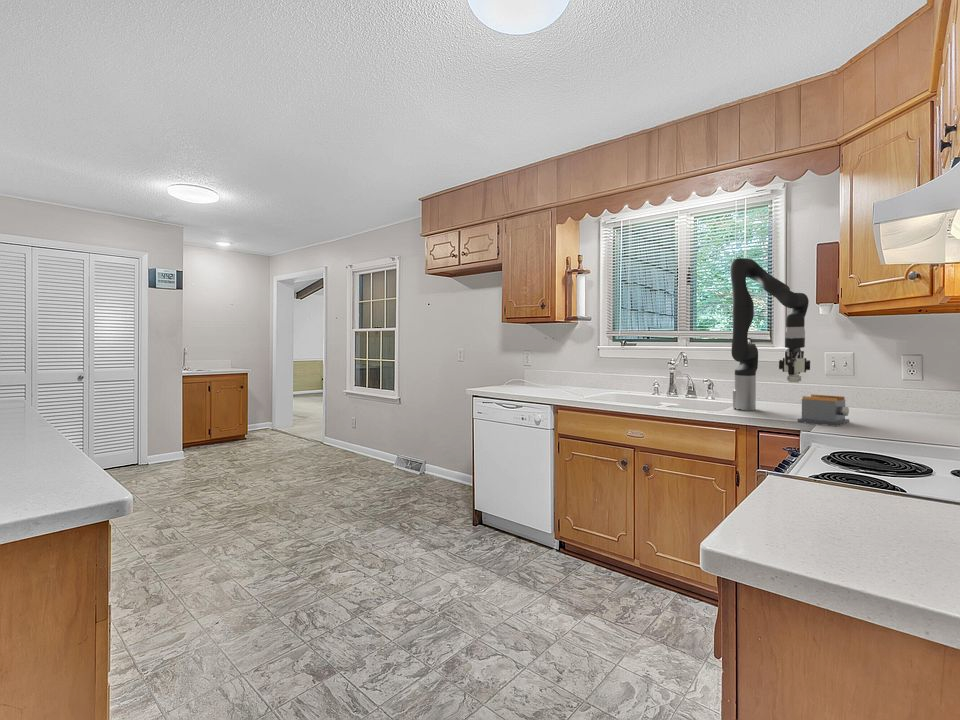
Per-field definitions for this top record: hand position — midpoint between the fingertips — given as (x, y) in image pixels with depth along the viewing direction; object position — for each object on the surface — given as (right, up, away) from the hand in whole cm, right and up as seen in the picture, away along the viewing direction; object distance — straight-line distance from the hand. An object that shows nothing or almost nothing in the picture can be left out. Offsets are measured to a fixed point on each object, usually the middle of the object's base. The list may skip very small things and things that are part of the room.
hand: (794, 374), depth 217 cm
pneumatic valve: (0, -4, 0) cm, 4 cm away
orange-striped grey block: (+2, -20, -15) cm, 25 cm away
